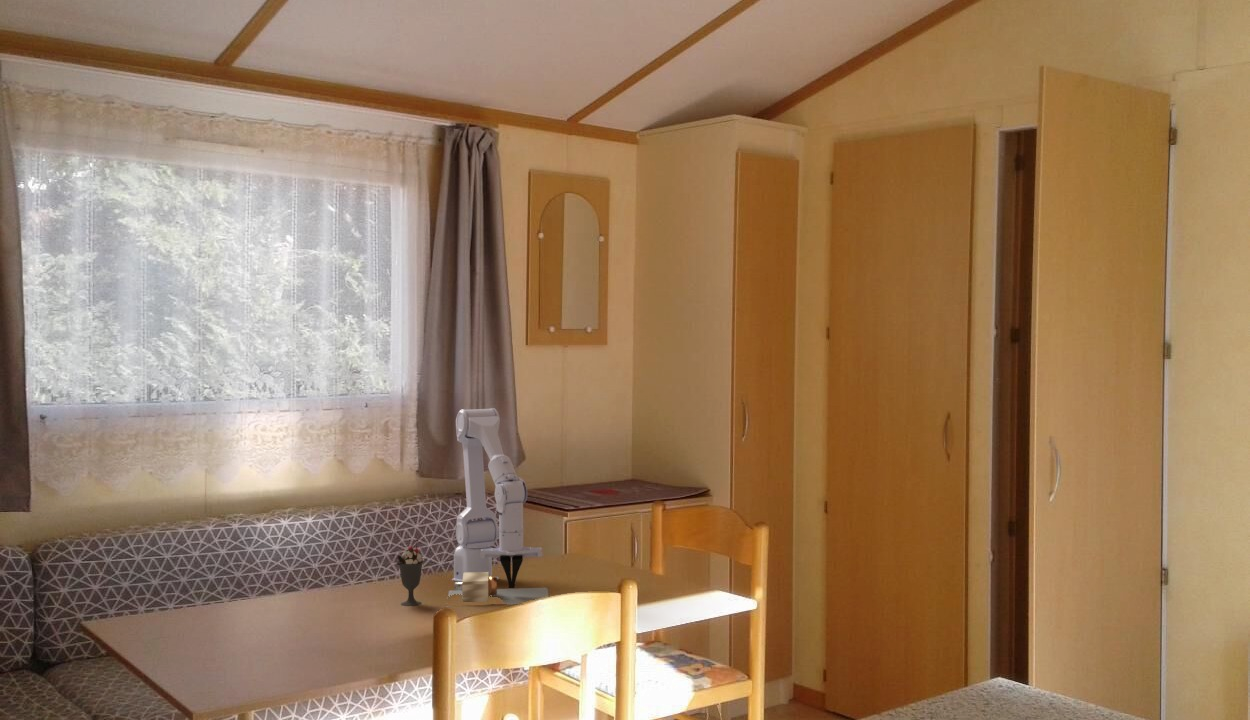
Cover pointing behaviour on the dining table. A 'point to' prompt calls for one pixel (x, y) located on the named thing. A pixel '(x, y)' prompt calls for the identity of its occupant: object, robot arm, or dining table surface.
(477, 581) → the hitch block
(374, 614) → the dining table surface
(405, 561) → the sundae
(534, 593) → the mat
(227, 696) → the dining table surface
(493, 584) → the pin
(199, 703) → the dining table surface
